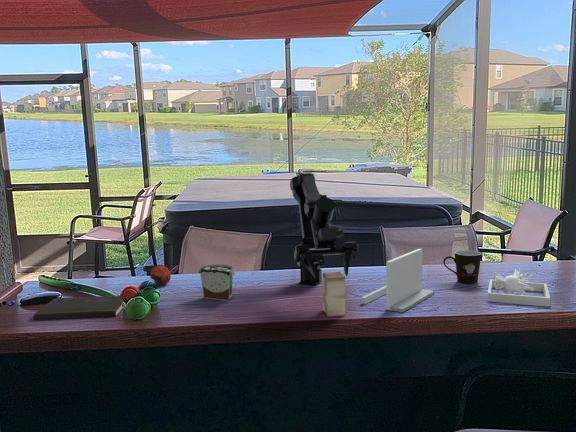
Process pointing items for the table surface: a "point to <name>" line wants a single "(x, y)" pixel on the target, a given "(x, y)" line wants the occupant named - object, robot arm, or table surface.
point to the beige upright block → (334, 293)
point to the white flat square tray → (521, 298)
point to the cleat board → (402, 283)
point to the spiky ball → (512, 282)
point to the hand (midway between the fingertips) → (331, 276)
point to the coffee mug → (466, 266)
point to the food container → (217, 281)
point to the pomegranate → (160, 275)
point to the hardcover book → (80, 308)
